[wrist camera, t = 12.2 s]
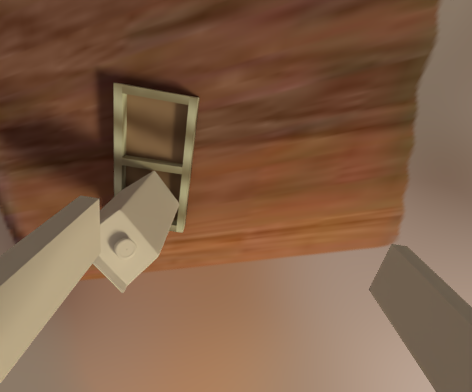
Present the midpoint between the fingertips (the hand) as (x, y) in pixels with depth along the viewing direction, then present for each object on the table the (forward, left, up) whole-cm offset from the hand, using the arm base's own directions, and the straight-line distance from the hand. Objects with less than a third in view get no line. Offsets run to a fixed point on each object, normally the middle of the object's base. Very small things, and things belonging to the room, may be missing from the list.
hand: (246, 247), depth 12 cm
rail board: (+14, -2, -34) cm, 37 cm away
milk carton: (+17, +2, -31) cm, 36 cm away
